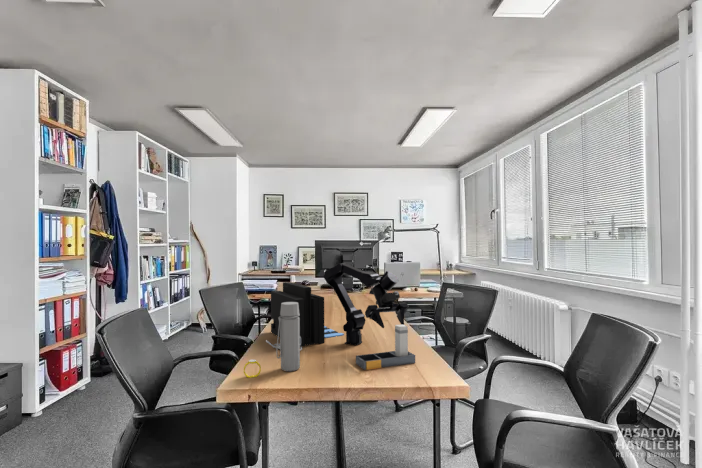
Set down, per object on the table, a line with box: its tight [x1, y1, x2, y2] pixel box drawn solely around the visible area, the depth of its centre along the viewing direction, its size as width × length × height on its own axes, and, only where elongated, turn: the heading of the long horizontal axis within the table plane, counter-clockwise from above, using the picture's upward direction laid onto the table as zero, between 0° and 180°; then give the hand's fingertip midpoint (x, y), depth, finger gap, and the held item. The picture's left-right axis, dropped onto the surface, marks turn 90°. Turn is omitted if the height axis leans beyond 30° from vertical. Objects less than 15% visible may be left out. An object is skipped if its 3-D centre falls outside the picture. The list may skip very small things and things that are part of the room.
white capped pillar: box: [394, 323, 409, 357], centre depth 154 cm, size 4×4×14 cm
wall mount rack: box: [265, 337, 303, 351], centre depth 173 cm, size 16×14×6 cm
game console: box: [270, 281, 345, 348], centre depth 200 cm, size 35×30×27 cm
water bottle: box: [275, 302, 301, 372], centre depth 147 cm, size 9×8×25 cm
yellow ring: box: [243, 359, 262, 379], centre depth 139 cm, size 6×3×6 cm, turn 106°
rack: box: [355, 350, 416, 371], centre depth 151 cm, size 22×9×4 cm, turn 111°
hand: (393, 326), depth 161 cm, fingers open, 9 cm apart
